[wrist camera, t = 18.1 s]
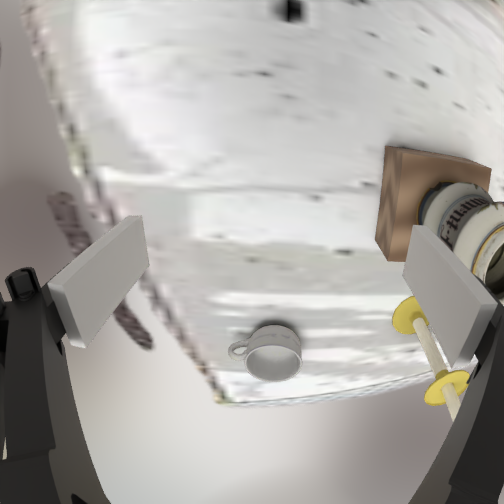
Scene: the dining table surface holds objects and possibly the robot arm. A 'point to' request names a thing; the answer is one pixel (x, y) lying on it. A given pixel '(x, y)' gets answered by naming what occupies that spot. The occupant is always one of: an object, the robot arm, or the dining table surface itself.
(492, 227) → the apothecary jar
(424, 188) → the walnut stand
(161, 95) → the dining table surface
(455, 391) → the rod with yellow discs
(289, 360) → the teacup
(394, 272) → the dining table surface
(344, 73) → the dining table surface
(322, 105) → the dining table surface
